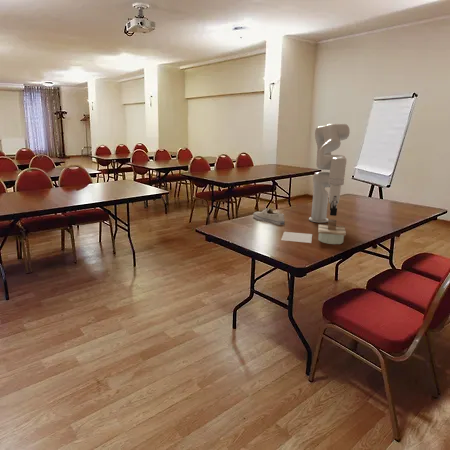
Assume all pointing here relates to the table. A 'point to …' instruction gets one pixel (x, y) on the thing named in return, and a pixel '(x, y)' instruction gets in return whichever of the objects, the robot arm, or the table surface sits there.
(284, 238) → the mat
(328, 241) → the bowl
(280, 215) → the boat shoe
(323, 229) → the lid
